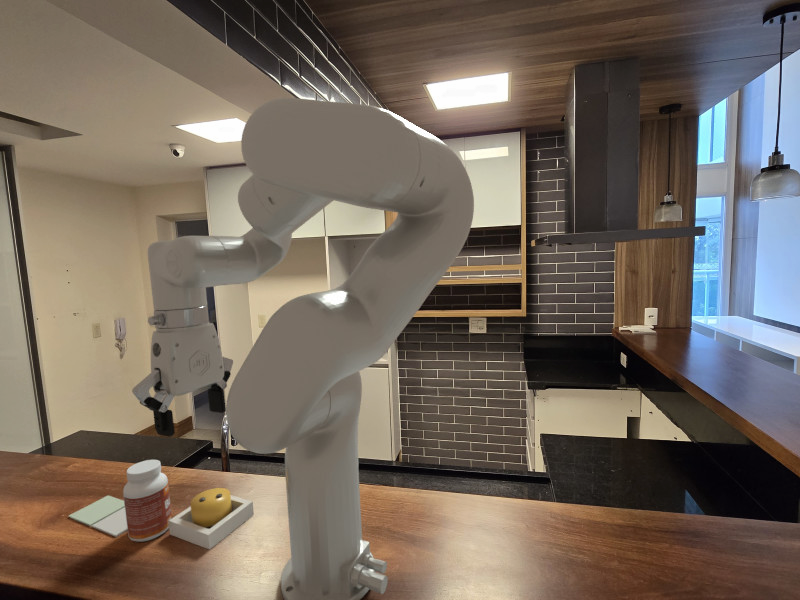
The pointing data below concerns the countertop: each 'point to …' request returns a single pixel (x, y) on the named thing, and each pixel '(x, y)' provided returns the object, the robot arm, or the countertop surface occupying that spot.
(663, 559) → the countertop surface
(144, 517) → the pill bottle
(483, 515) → the countertop surface
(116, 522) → the grey square tile
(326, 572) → the robot arm
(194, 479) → the countertop surface
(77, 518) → the pale green square tile
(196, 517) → the dome
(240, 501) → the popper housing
